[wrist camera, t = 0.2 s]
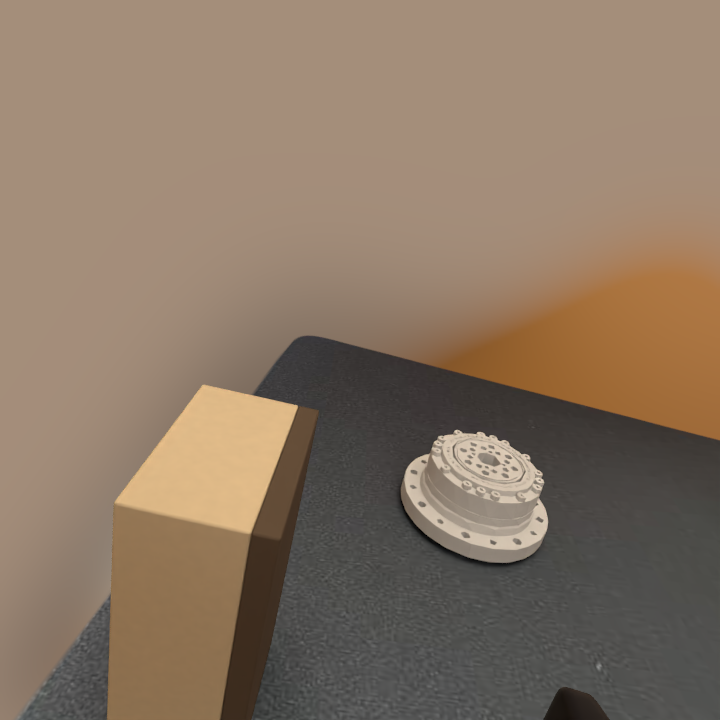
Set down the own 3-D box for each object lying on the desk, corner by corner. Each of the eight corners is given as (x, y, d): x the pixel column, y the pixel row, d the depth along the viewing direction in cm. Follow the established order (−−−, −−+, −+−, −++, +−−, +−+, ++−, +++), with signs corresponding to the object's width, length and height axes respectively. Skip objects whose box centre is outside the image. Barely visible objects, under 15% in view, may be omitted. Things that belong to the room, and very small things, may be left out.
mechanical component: (542, 497, 42) (417, 451, 44) (563, 449, 40) (432, 403, 42) (538, 590, 33) (381, 527, 35) (565, 534, 31) (398, 471, 33)
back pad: (271, 643, 26) (319, 409, 21) (227, 813, 20) (281, 539, 15) (177, 622, 26) (202, 383, 21) (103, 786, 20) (112, 502, 14)
